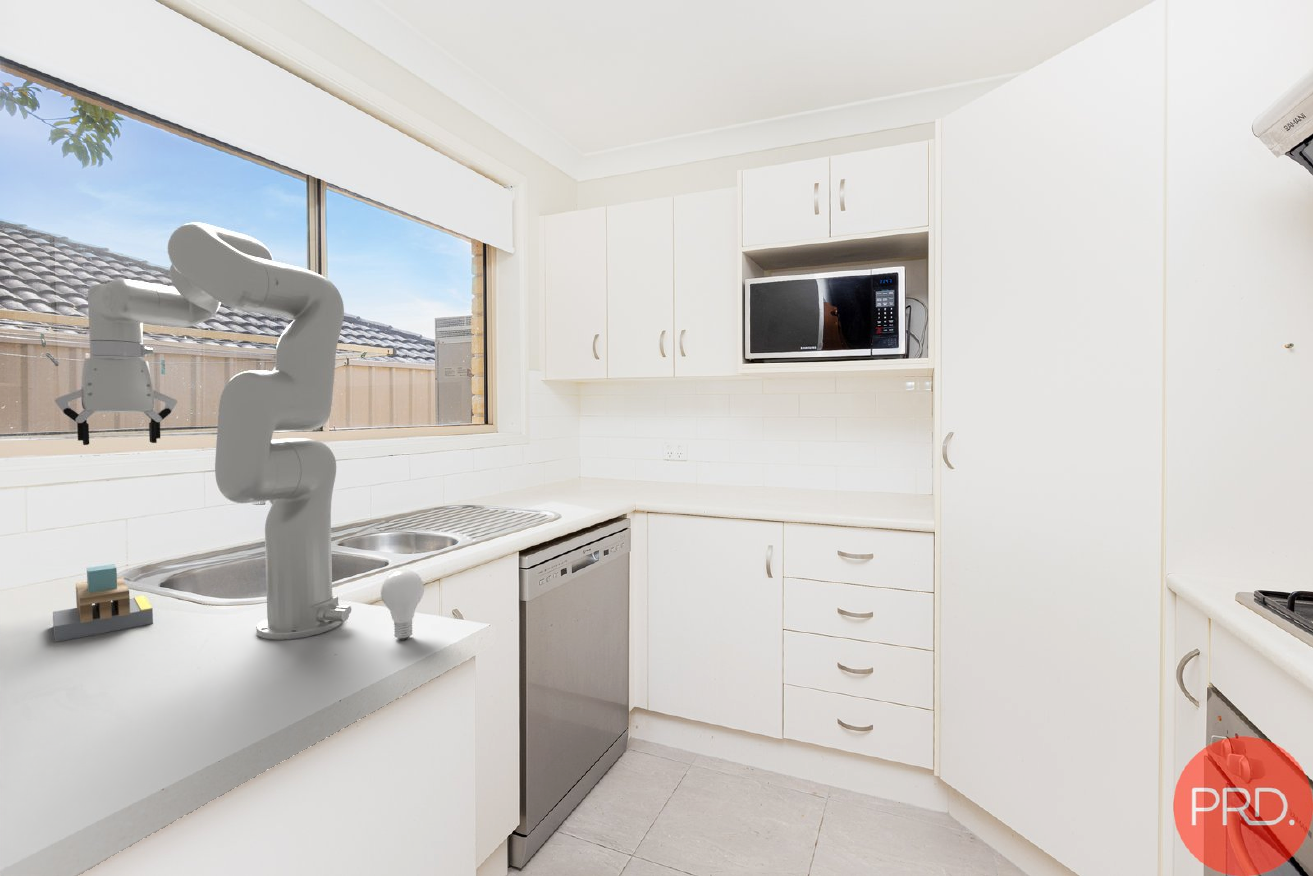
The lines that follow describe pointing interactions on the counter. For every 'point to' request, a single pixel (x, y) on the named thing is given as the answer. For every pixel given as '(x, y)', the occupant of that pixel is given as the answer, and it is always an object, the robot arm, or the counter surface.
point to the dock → (71, 626)
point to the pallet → (102, 601)
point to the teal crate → (102, 578)
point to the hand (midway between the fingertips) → (120, 443)
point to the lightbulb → (402, 599)
